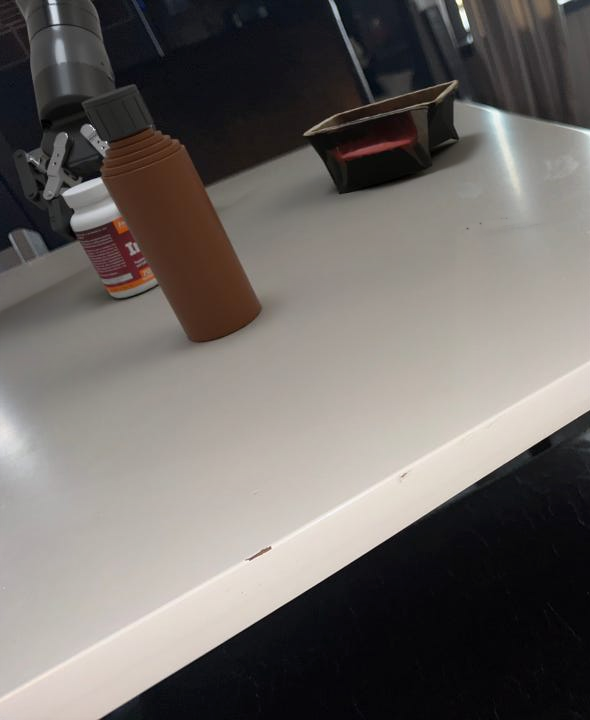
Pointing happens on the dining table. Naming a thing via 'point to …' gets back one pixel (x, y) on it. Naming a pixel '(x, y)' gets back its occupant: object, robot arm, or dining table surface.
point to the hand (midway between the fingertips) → (100, 225)
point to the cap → (118, 113)
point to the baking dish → (385, 137)
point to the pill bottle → (108, 240)
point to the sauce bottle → (179, 233)
